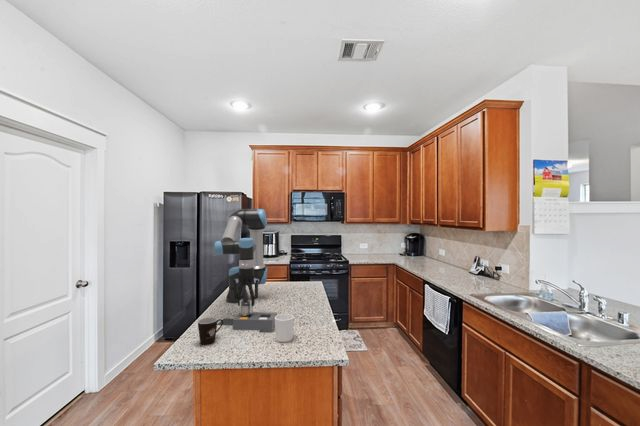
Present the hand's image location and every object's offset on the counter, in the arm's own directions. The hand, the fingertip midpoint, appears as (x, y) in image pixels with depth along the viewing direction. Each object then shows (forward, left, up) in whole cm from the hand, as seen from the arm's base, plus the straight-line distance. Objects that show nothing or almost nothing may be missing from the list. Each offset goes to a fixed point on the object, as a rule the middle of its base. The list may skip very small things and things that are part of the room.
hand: (246, 312), depth 151 cm
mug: (+13, +23, -8) cm, 28 cm away
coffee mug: (+18, -11, -8) cm, 23 cm away
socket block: (0, +5, -8) cm, 9 cm away
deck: (-5, -11, -8) cm, 15 cm away
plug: (0, -1, -5) cm, 5 cm away
